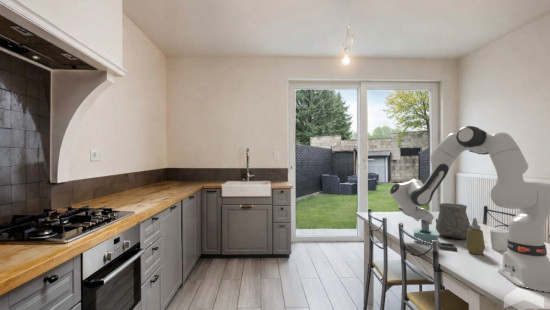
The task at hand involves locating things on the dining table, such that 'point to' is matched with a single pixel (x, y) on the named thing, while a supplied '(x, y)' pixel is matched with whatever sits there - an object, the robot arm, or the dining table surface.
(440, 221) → the vessel
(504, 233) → the white cup
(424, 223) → the spigot
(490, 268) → the dining table surface
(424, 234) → the socket block
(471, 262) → the dining table surface
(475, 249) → the squeeze bottle
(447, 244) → the mount collar
